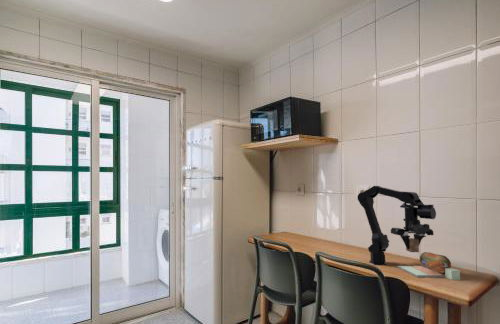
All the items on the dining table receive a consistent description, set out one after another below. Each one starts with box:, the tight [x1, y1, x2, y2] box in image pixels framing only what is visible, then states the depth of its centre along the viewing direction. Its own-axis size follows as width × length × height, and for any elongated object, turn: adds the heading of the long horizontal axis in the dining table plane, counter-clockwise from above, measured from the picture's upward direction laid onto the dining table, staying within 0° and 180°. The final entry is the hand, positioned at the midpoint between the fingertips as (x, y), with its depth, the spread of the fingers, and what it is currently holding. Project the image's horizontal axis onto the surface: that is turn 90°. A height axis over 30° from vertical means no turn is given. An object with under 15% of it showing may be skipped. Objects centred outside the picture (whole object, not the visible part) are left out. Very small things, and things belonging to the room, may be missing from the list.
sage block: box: [444, 267, 461, 281], centre depth 133 cm, size 4×4×4 cm
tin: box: [419, 251, 452, 274], centre depth 145 cm, size 15×3×8 cm, turn 21°
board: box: [397, 265, 446, 279], centre depth 142 cm, size 13×17×1 cm
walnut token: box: [405, 237, 420, 253], centre depth 143 cm, size 4×4×6 cm
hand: (412, 249), depth 143 cm, fingers closed on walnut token, 4 cm apart
